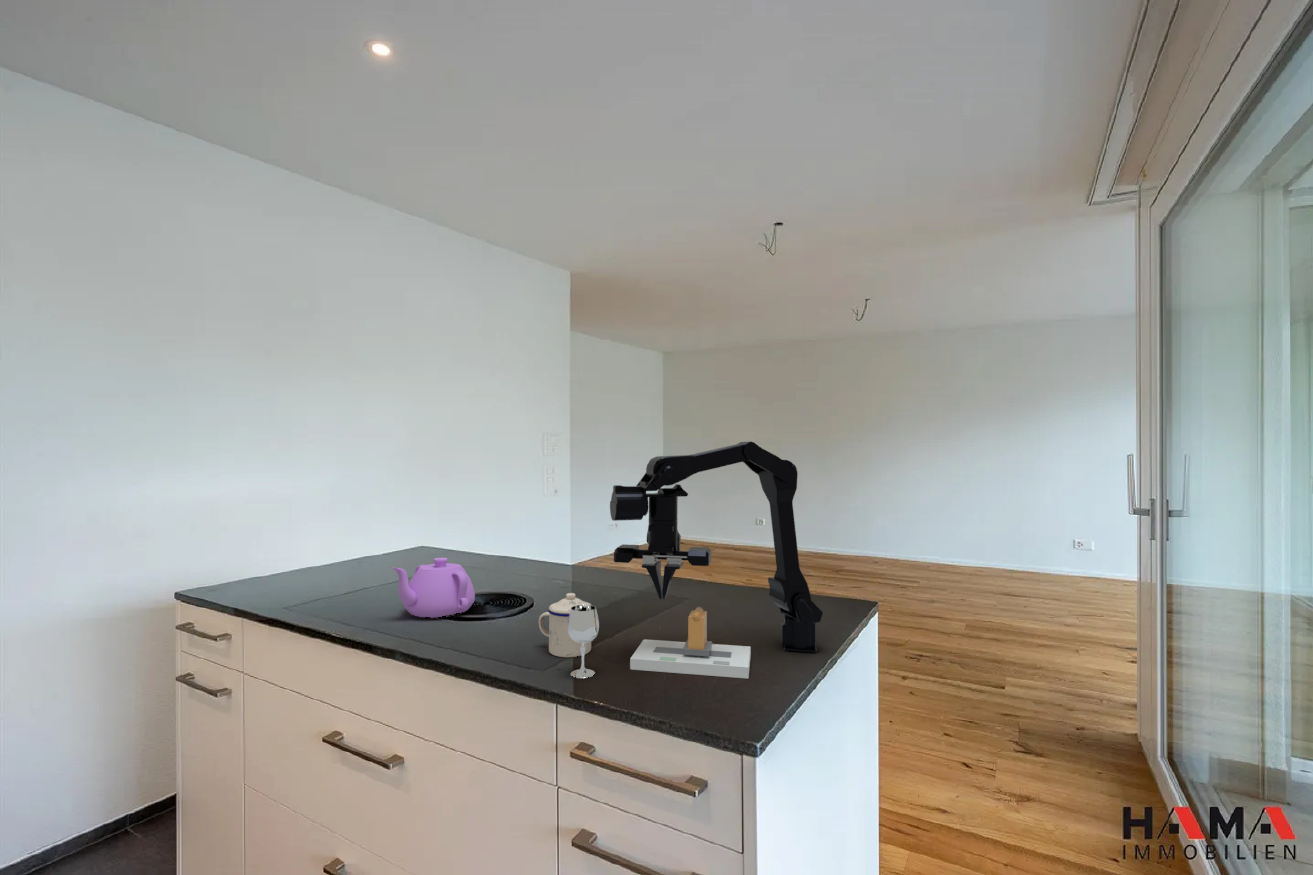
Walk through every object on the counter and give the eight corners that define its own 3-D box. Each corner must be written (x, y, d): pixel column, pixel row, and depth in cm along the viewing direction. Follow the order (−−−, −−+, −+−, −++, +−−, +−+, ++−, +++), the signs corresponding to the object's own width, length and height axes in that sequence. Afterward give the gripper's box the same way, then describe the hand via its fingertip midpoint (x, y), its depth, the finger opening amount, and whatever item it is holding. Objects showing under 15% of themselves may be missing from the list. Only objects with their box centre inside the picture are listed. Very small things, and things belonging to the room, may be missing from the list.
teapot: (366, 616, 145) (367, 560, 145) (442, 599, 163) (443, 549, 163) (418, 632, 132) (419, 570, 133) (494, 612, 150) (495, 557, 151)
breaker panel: (750, 656, 118) (750, 645, 118) (748, 678, 106) (748, 666, 106) (643, 648, 122) (643, 638, 122) (630, 669, 110) (630, 658, 110)
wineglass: (568, 668, 110) (568, 604, 111) (598, 667, 111) (599, 603, 111) (565, 680, 105) (566, 612, 105) (598, 679, 105) (598, 611, 105)
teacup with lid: (599, 647, 123) (600, 591, 123) (578, 660, 115) (579, 600, 115) (550, 640, 127) (551, 586, 128) (526, 653, 119) (527, 595, 119)
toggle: (711, 646, 116) (712, 606, 116) (708, 656, 110) (708, 614, 111) (687, 644, 117) (687, 605, 117) (682, 654, 111) (682, 613, 112)
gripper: (713, 516, 122) (713, 592, 122) (627, 514, 126) (626, 587, 125) (708, 522, 111) (708, 605, 111) (613, 519, 115) (612, 600, 114)
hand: (662, 598), depth 115 cm, fingers closed
